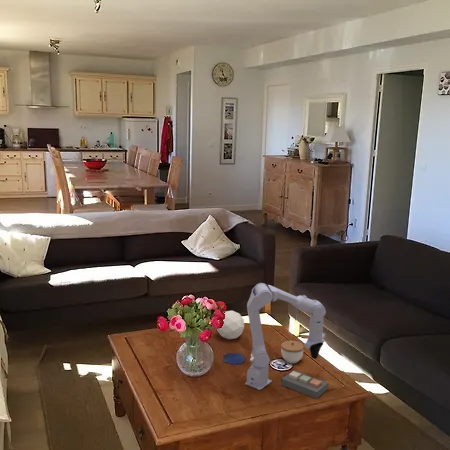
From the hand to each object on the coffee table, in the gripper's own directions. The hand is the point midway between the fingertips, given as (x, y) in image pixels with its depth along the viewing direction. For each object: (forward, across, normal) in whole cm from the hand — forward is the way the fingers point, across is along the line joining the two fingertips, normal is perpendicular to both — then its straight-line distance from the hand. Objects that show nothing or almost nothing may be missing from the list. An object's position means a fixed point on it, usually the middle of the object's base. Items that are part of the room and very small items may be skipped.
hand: (314, 357), depth 223 cm
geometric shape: (+11, +10, +55) cm, 57 cm away
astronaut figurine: (+11, 0, +29) cm, 31 cm away
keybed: (+10, -8, 0) cm, 13 cm away
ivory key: (+9, -8, +5) cm, 13 cm away
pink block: (+9, -8, -5) cm, 13 cm away
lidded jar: (+11, +9, +17) cm, 22 cm away
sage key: (+9, -8, 0) cm, 12 cm away
